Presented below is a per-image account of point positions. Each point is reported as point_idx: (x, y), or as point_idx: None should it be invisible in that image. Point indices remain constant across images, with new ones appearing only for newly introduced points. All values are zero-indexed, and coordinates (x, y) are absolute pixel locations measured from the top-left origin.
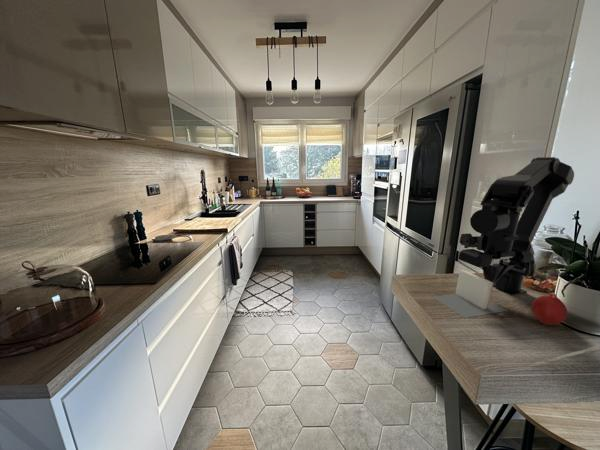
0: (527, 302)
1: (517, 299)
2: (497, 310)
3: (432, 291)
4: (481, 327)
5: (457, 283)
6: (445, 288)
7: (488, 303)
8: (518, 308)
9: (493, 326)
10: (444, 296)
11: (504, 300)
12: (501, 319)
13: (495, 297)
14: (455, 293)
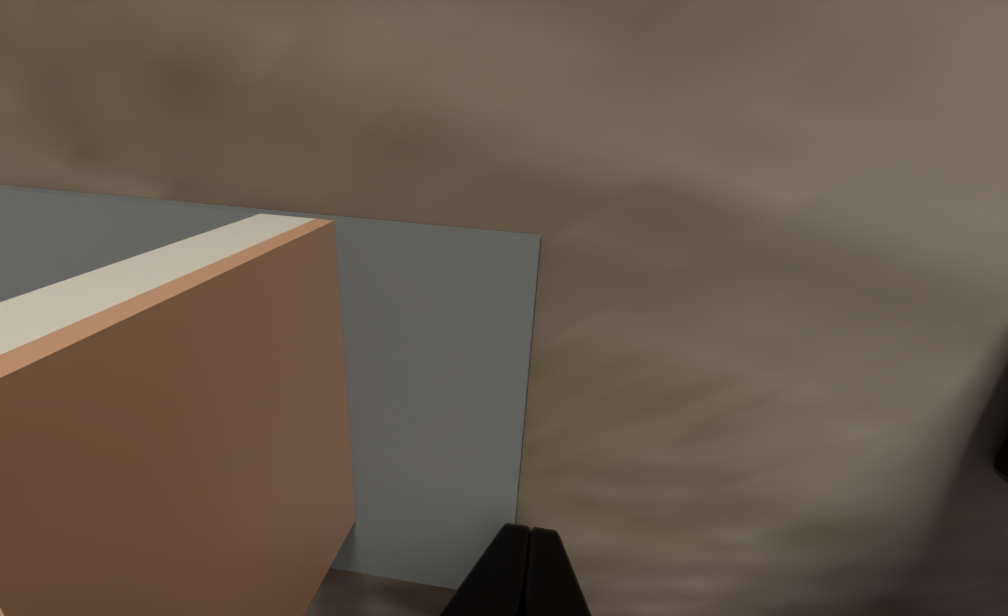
0: (949, 592)
1: (934, 528)
2: (409, 565)
3: (30, 29)
4: None
5: (138, 258)
6: (278, 3)
7: (327, 562)
8: (683, 597)
9: None
10: (73, 224)
11: (745, 486)
12: (344, 603)
13: (727, 416)
14: (257, 216)
